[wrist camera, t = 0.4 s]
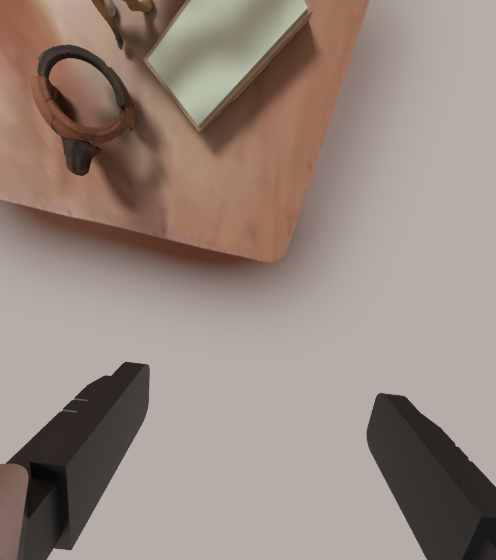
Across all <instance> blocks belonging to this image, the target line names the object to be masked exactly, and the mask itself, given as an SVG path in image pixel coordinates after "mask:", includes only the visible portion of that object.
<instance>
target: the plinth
mask: <svg viewBox="0 0 496 560" xmlns="http://www.w3.org/2000/svg"><path fill="white" fill-rule="evenodd" d="M312 12H313V8H312V6H311V4H310V2H309V0H186V1H185V3H184V4H183V5H182V7H181V8H180V10H179V11H178V12H177V14H176V15H175V16H174V18H173V19H172V21H171V22H170V23H169V25H168V26H167V28H166V29H165V30H164V32H163V33H162V35H161V36H160V37H159V39H158V40H157V41H156V43H155V44H154V46H153V47H152V48H151V50H150V51H149V53H148V54H147V55H146V57H145V58H144V60H143V61H144V62H145V63H146V65H147V66H148V67H149V69H150V70H151V71H152V72H153V74H154V75H155V76H156V78H157V79H158V80H159V81H160V83H161V84H162V85H163V87H164V88H165V89H166V90H167V92H168V93H169V94H170V96H171V97H172V98H173V99H174V101H175V102H176V103H177V105H178V106H179V107H180V108H181V110H182V111H183V112H184V114H185V115H186V116H187V117H188V119H189V120H190V121H191V123H192V124H193V125H194V126H195V128H196V129H197V130H198V132H204V131H205V130H206V129H207V128H208V127H209V126H210V125H211V124H212V123H213V122H214V121H215V120H216V118H217V117H218V116H219V115H220V114H221V113H222V112H223V111H224V110H225V109H226V108H227V107H228V106H229V105H230V104H231V103H232V102H233V101H234V100H235V99H236V98H237V97H238V96H239V95H240V94H241V93H242V92H243V91H244V90H245V89H246V88H247V87H248V86H249V85H250V83H251V82H252V81H253V80H254V79H255V78H256V77H257V76H258V75H259V74H260V73H261V72H262V71H263V70H264V69H265V68H266V67H267V66H268V64H269V63H270V61H271V60H272V59H273V58H274V57H275V56H276V55H277V54H278V53H279V52H280V51H281V50H282V49H283V48H284V47H285V46H286V44H287V43H288V42H289V41H290V40H291V39H292V38H293V37H294V36H295V35H296V34H297V33H298V32H299V31H300V30H301V29H302V28H303V26H304V25H305V24H306V23H307V22H308V21H309V19H310V17H311V14H312Z"/></svg>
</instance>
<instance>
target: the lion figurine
mask: <svg viewBox="0 0 496 560" xmlns="http://www.w3.org/2000/svg"><path fill="white" fill-rule="evenodd" d="M123 1H125V2H126V3H127V5H128V7H129V8H130V10H132V11H142V12H146V13H147V12H150V11H151V10H152V9H153V1H152V0H123ZM92 2H93V4H94V5H95V7H96V8H97V9H98V11H99V12H100V13H101V15H102V16H103V17H104V19H105V20H106V21H107V22H108V24H109V25H110V27H111V29H112V30H113V32H114V34H115V37H116V40H117V43H118V47H119V48H120V49H121V50H122V47H123V40H122V37H121V35H120V33H119V30H118V28H117V27H116V25H115V24H114V22H113V20H112V19H111V18H112V17H114V15H115V13H116V7H115V5H114V3H113V1H111V0H92Z"/></svg>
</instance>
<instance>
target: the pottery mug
mask: <svg viewBox="0 0 496 560" xmlns="http://www.w3.org/2000/svg"><path fill="white" fill-rule="evenodd" d="M66 58H75V59H80V60H83V61H86V62H88V63H90V64H91V65H93V66H94V67H96V68H97V69H98V70H99V71H101V72H102V73H103V75H104V76H105V77H106V78H107V79H108V81H109V82H110V84H111V85H112V87H113V89H114V92H115V94H116V98H117V104H118V106H119V107H120V108H121V111H120V116H119V118H117V117H115V118H114V119H113V120H112V121H111V122H110V123H109V124H108V125H106V126H103V127H100V128H91V127H85V126H82V125H80V124H78V123H76V122H74V121H73V120H71V119H70V118H69V117H67V116H66V115H65V114H64V113H63V112H62V111H61V110H60V108H59V107H58V106H57V99H56V98H57V92H58V90H57V88H56V87H54V86H53V85H52V84H51V82H50V81H49V74H50V71H51V69H52V67H53V66H54V65H55V64H56V63H57V62H58V61H60V60H62V59H66ZM38 60H39V65H38V70H37V72H38V76H37V77H36V76H32V79H31V86H32V93H33V97H34V100H35V103H36V105H37V107H38V109H39V111H40V113H41V115H42V116H43V117H44V119H45V121H46V122H47V124H48V125H49V126H50V127H51V128H52V129H53V130H54V131H55V132H56V133H57V134H58V135H60V136H61V138H62V141H63V148H64V155H65V157H66V163H67V168H68V169H69V170H70V171H71V172H72V173H74V174H76V175H80V176H83V175H85V174H87V173H88V172H89V168H90V164H91V160H92V158H93V156H94V155H96V154H98V153H100V151H101V150H100V148H98V147H94V146H93V145H92V144H91V143H90V142H87V141H85V140H87V139H92V140H93V142H94V143H95V144H100V143H104V142H107V141H110V140H112V139H114V138H115V137H117V136H119V135H120V134H121V133H123V131H124V130H125V129H126V128H127V126H129V128H130V130H131V131H133V130H134V128H135V122H136V117H135V112H134V111H133V109H134V105H133V102H132V100H131V97H130V95H129V93H128V91H127V89H126V87H125V86H124V84H123V82H122V81H121V79H120V78H119V76H118V75H117V74H116V73H115V71H114V70H113V69H112V68H111V67H108V66H107V65H106V64H105V62H104V61H103V60H102V59H100V58H99V57H97V56H96V55H94V54H92V53H91V52H89V51H88V50H86V49H83V48H81V47H78V46H73V45H60V46H56V47H52V48H50V49H48V50H46V51H44V52H43V53H42V54H41V55H40V56H39V57H38Z"/></svg>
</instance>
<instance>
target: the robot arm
mask: <svg viewBox="0 0 496 560" xmlns="http://www.w3.org/2000/svg"><path fill="white" fill-rule="evenodd" d="M149 374H150V369H149V365H147V364H139V363H131V362H125V363H123V364H122V365H121V366H120V367H119V368H118V369H117V370H116V371H115V372H114V374H113V375H112V376H103V377H101V378H99V379H98V380H96V381H94V382H92V383H91V384H89V385H87V386H86V387H85V388H84V389H83V390H82V391H81V392H80V393H79V394H78V395H77V396H76V397H75V399H74V400H72V401H71V402H70V403H69V404H67V405H66V406H65V407H64V408H63V411H62V412H59V413H58V414H57V415H56V416H55V417H54V418H53V419H52V420H51V421H50V422H49V423H48V424H47V425H46V426H44V427H43V428H42V429H41V430H40V431H39V432H38V433H37V434H36V435H35V436H34V437H33V438H32V439H31V440H30V441H29V442H28V443H27V444H26V445H25V446H24V447H23V448H22V449H21V450H20V451H18V452H17V453H16V454H15V455H14V456H13V457H12V458H11V459H10V460H9V461H8V462H7V463H6V464H0V560H46V559H47V558H48V556H49V555H50V553H51V551H52V550H53V548H56V549H66V550H72V548H73V546H74V544H75V542H76V541H77V539H78V537H79V536H80V534H81V532H82V530H83V528H84V527H85V525H86V523H87V521H88V520H89V518H90V516H91V514H92V512H93V511H94V509H95V507H96V505H97V503H98V502H99V500H100V498H101V496H102V495H103V493H104V491H105V489H106V487H107V485H108V484H109V482H110V480H111V479H112V477H113V475H114V473H115V471H116V469H117V468H118V466H119V464H120V463H121V461H122V459H123V457H124V455H125V453H126V452H127V450H128V448H129V446H130V445H131V443H132V441H133V439H134V437H135V436H136V434H137V432H138V430H139V429H140V427H141V425H142V423H143V421H144V419H145V416H146V413H147V409H148V403H149ZM367 442H368V446H369V449H370V451H371V453H372V455H373V457H374V459H375V461H376V463H377V465H378V467H379V469H380V471H381V472H382V474H383V476H384V478H385V480H386V482H387V484H388V486H389V488H390V490H391V492H392V493H393V495H394V497H395V499H396V501H397V503H398V505H399V507H400V509H401V511H402V513H403V514H404V516H405V518H406V520H407V522H408V524H409V526H410V528H411V529H412V531H413V534H414V535H415V537H416V539H417V541H418V543H419V545H420V547H421V549H422V551H423V553H424V555H425V557H426V558H427V560H496V487H495V486H494V485H493V484H492V483H491V482H490V480H489V479H488V478H487V477H486V476H485V475H484V474H483V473H482V472H481V471H480V470H479V469H478V468H477V467H476V466H475V464H474V463H473V462H471V461H469V460H468V457H467V456H466V455H465V454H464V453H463V452H462V451H461V449H460V448H459V447H456V446H455V443H454V442H453V441H452V440H451V439H450V438H449V437H448V435H447V434H446V433H445V432H444V431H443V430H442V429H441V428H440V427H439V426H437V425H436V424H435V423H433V422H432V421H430V420H429V419H428V418H426V417H425V416H424V415H422V414H421V413H420V412H419V411H418V410H417V409H416V408H415V407H414V405H413V404H412V403H411V402H410V401H409V400H408V399H407V398H406V397H405V396H400V395H392V394H384V393H380V394H378V395H377V397H376V399H375V403H374V407H373V410H372V414H371V417H370V421H369V424H368V428H367Z"/></svg>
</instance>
